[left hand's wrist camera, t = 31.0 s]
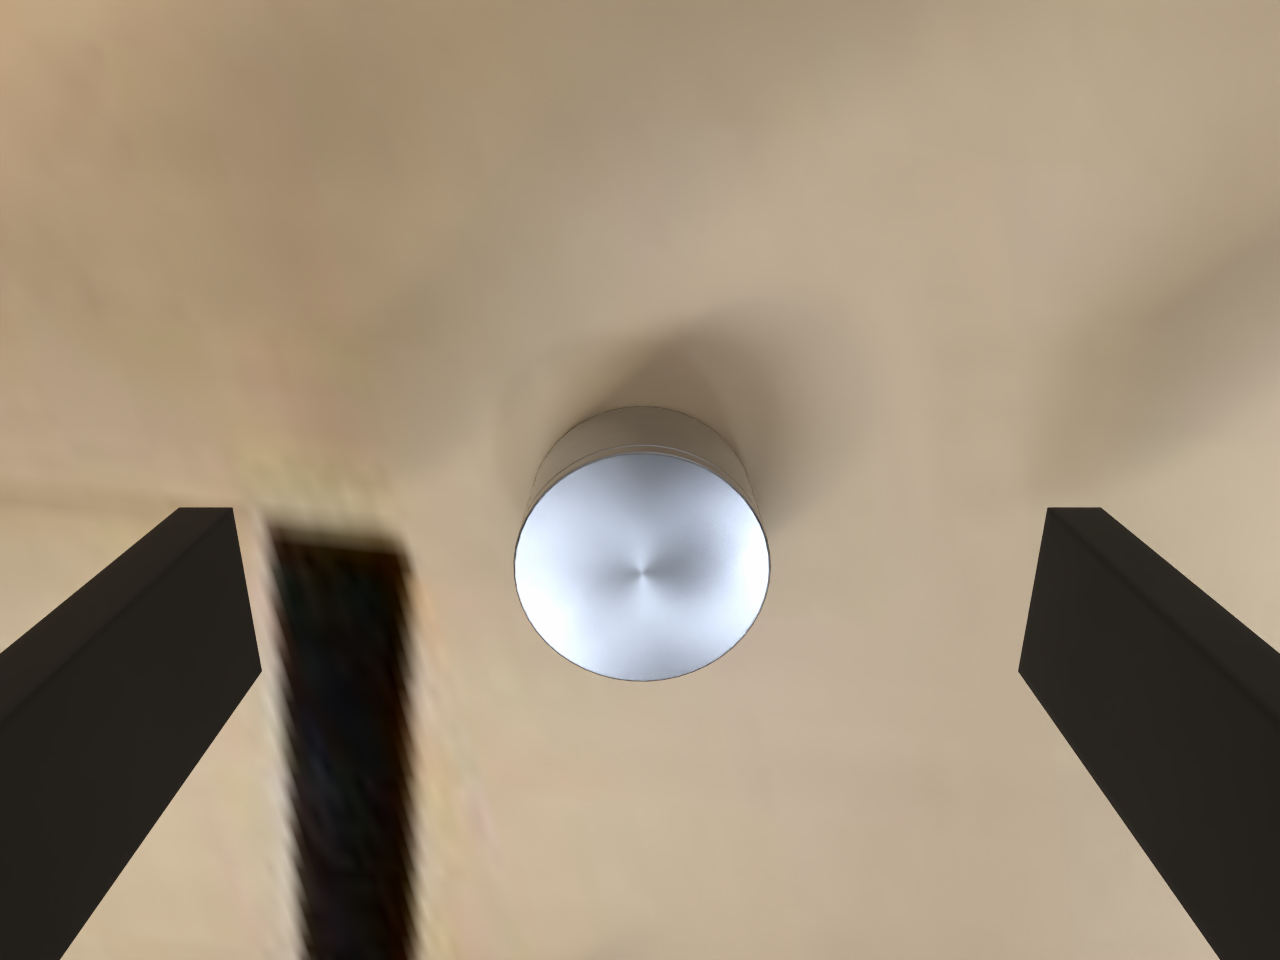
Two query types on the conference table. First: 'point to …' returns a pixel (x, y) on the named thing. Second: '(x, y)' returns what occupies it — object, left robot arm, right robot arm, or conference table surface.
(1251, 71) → the conference table surface
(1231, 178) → the conference table surface
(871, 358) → the conference table surface
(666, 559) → the cap
